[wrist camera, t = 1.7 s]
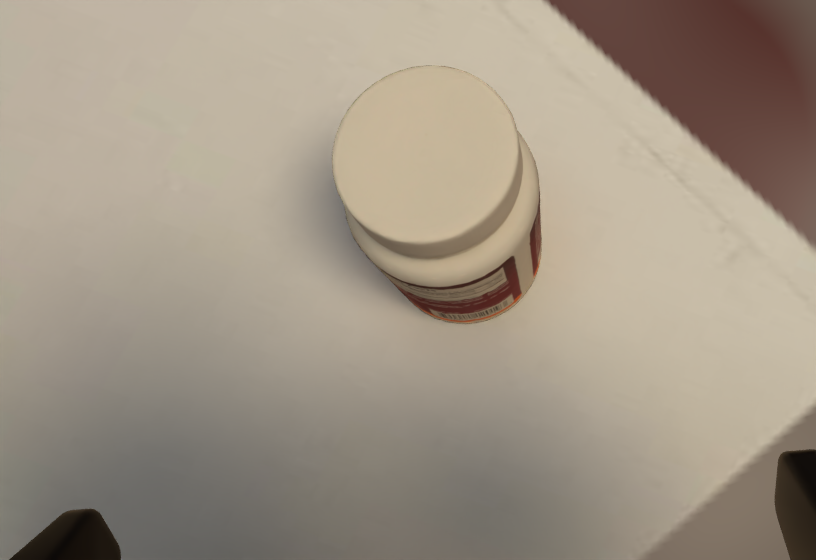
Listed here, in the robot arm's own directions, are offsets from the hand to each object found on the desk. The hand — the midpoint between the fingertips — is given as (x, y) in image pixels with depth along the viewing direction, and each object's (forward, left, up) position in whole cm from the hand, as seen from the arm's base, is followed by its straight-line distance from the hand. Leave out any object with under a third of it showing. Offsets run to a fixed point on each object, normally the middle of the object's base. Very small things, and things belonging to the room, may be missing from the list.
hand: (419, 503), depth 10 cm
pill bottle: (+7, -2, -13) cm, 15 cm away
